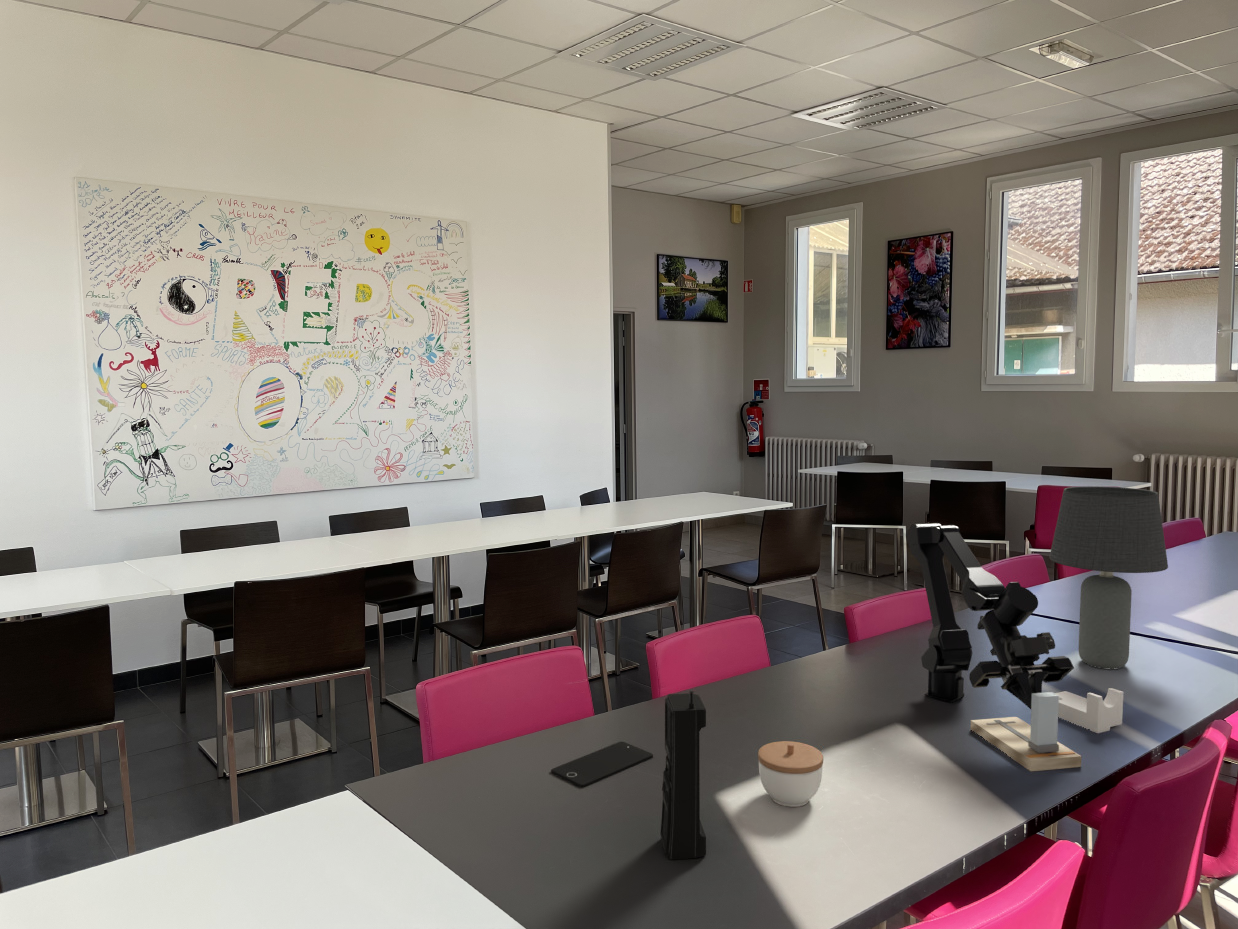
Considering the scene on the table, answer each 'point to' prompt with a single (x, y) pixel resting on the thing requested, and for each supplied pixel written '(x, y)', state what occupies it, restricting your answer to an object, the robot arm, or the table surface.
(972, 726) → the slider board
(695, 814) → the portable radio
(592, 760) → the cell phone
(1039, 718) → the fader tab
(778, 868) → the table surface
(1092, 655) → the lamp
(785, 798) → the lidded jar
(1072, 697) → the bracket
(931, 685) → the robot arm
